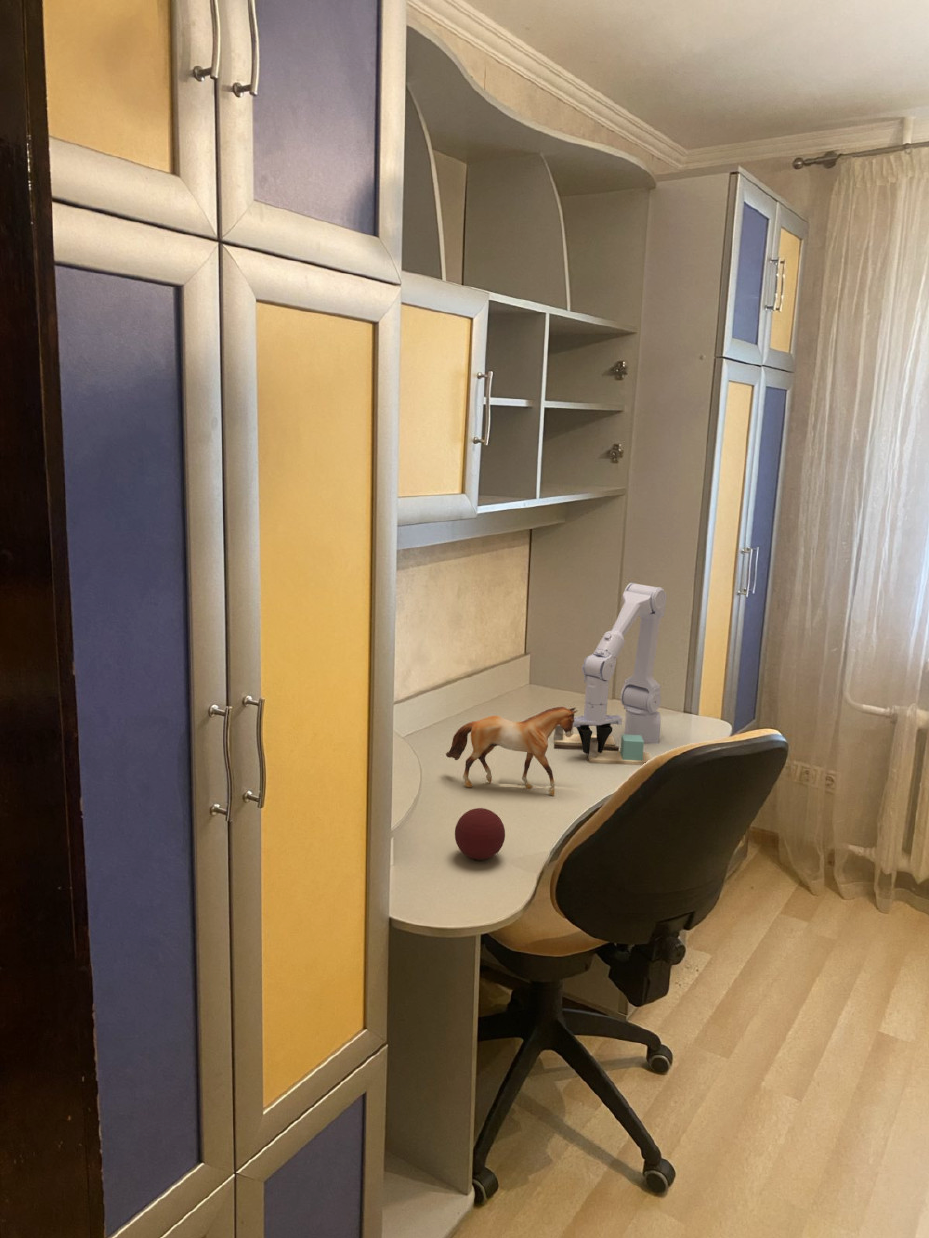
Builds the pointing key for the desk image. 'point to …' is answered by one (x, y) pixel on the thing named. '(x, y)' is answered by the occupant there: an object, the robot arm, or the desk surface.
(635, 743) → the teal cube
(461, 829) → the decorative ball
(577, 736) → the empty strip
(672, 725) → the desk surface
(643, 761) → the strip
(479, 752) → the horse figurine
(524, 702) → the desk surface
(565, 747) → the lane board
